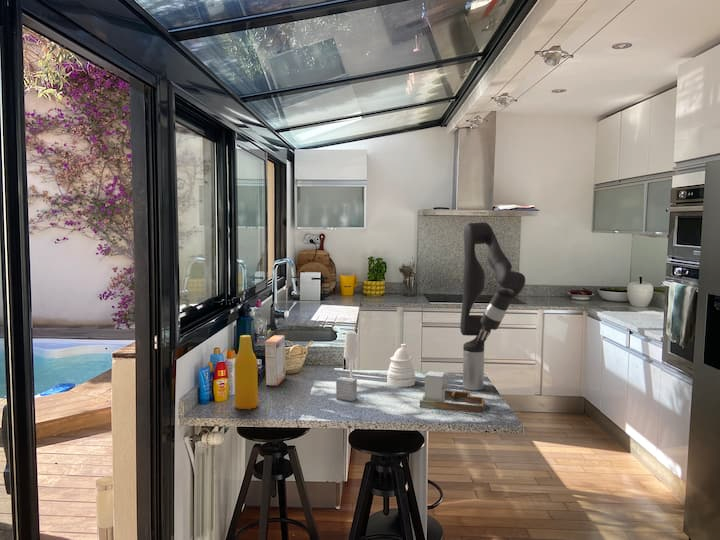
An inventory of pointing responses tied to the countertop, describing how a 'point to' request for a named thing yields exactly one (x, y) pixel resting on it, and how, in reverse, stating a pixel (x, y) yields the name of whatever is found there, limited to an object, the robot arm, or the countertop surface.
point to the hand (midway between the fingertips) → (475, 350)
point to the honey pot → (401, 369)
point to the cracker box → (275, 360)
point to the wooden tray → (454, 406)
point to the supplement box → (435, 386)
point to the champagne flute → (351, 349)
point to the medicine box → (346, 389)
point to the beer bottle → (246, 375)
